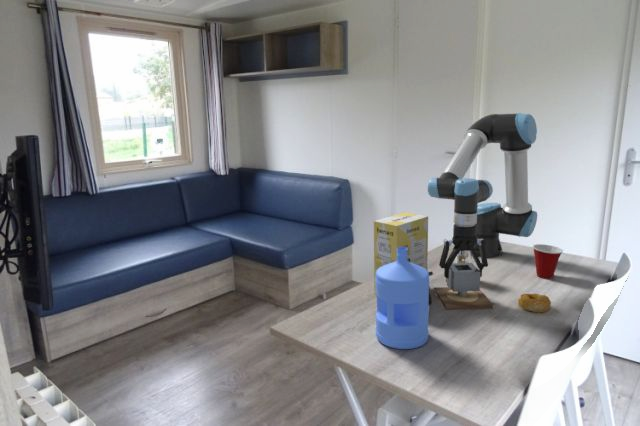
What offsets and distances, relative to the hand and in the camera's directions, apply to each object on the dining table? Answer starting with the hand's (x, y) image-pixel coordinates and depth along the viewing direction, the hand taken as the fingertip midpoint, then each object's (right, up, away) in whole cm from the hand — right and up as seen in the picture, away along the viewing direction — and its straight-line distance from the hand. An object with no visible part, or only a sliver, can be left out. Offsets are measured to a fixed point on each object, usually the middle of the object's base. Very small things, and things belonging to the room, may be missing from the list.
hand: (462, 285), depth 157 cm
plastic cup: (+39, 0, +19) cm, 44 cm away
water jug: (-26, -12, -23) cm, 36 cm away
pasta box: (-20, -4, +11) cm, 23 cm away
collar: (0, 0, 0) cm, 0 cm away
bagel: (+22, -6, -6) cm, 24 cm away
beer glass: (+6, -1, +20) cm, 21 cm away
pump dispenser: (-18, -8, -6) cm, 20 cm away
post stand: (0, -5, +1) cm, 5 cm away
